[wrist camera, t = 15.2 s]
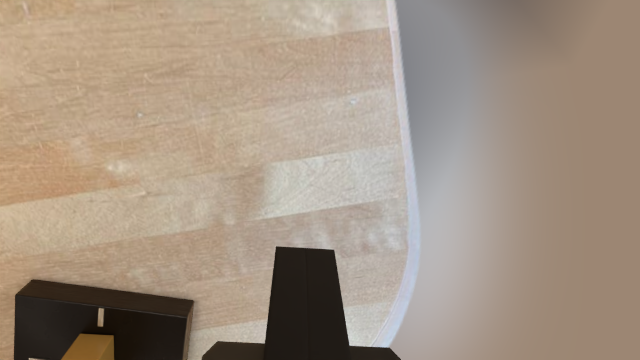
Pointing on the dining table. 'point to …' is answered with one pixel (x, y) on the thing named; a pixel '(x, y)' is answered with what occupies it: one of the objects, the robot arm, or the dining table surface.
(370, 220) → the dining table surface
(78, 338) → the lock turn
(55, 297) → the plate
